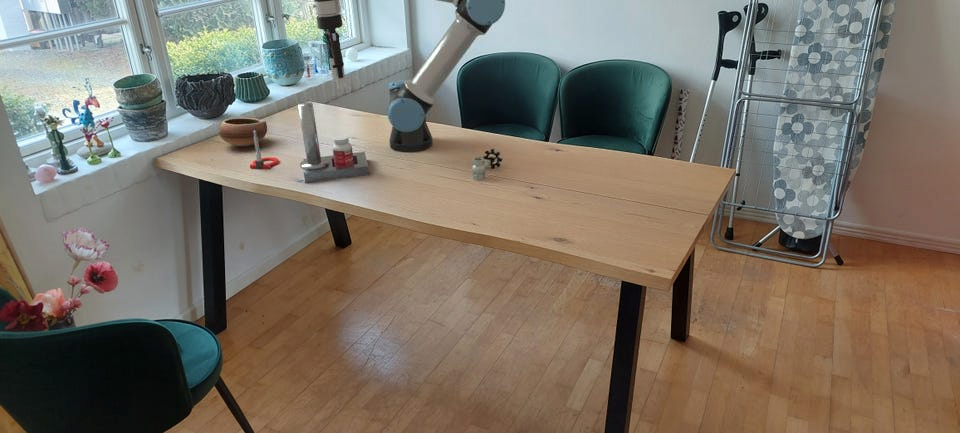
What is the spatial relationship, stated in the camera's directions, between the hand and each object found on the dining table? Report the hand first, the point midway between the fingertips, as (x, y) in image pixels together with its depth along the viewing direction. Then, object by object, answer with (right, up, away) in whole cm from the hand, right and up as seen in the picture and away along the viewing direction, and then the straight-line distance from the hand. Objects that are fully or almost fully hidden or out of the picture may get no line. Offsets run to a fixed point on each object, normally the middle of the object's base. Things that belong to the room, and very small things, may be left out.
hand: (339, 83), depth 217 cm
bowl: (-41, -17, +32) cm, 54 cm away
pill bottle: (+1, -28, +5) cm, 28 cm away
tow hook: (-28, -25, +13) cm, 40 cm away
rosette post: (-2, -28, +4) cm, 28 cm away
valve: (+46, -30, -3) cm, 55 cm away
